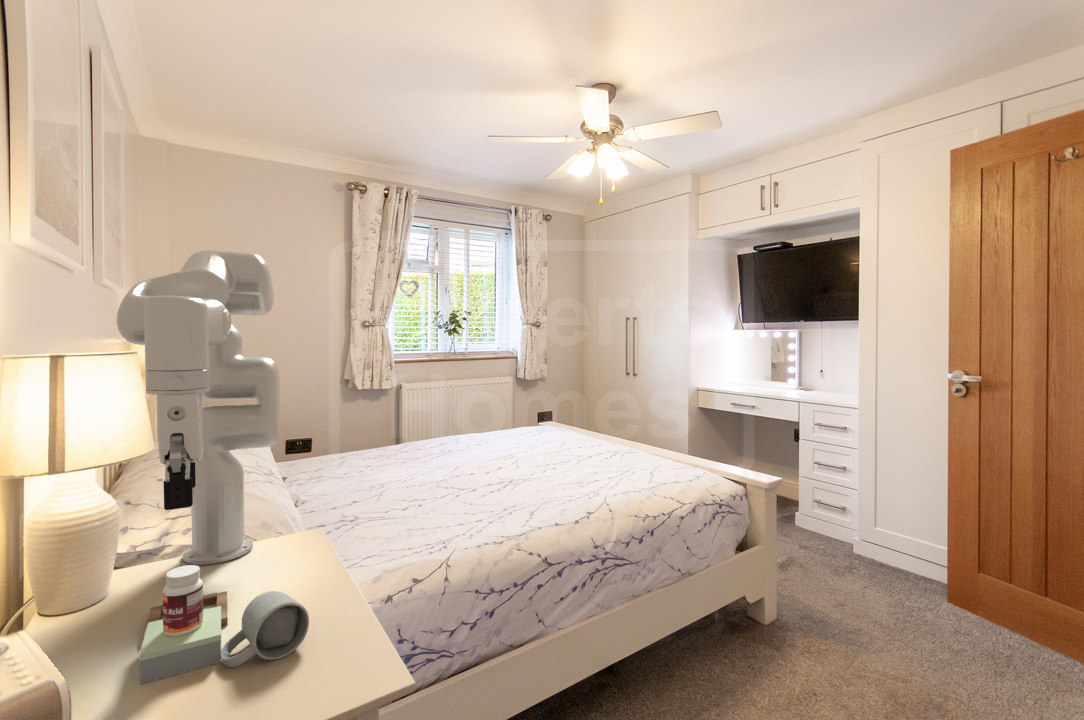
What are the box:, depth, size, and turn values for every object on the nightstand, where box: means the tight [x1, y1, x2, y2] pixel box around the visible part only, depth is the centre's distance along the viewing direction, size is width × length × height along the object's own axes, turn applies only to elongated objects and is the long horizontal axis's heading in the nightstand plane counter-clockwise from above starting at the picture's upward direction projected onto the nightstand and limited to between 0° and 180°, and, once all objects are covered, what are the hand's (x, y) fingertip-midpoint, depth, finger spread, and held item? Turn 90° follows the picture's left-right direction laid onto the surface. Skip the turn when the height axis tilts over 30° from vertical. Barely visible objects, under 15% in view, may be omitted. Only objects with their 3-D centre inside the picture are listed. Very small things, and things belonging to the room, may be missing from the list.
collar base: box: [142, 590, 229, 641], centre depth 82 cm, size 11×11×1 cm
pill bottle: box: [162, 564, 204, 636], centre depth 73 cm, size 5×5×8 cm
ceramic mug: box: [220, 590, 310, 668], centre depth 74 cm, size 11×8×8 cm
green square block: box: [139, 606, 222, 685], centre depth 73 cm, size 9×9×4 cm
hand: (181, 497), depth 74 cm, fingers open, 9 cm apart
